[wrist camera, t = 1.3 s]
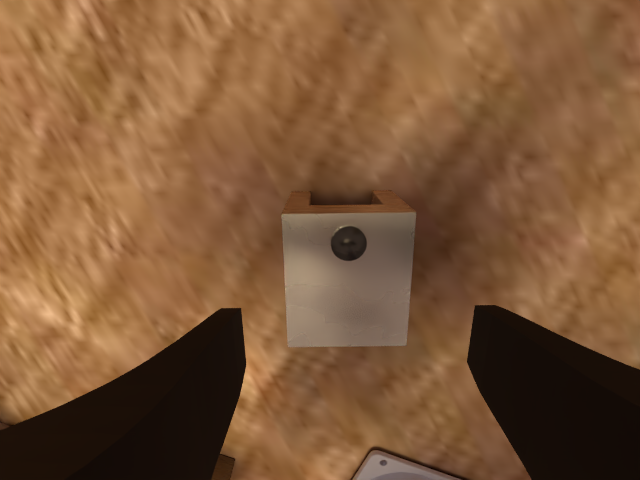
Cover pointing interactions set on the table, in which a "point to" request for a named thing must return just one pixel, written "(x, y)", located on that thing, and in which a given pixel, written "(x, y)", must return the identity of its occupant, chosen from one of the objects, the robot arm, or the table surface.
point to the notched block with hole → (347, 271)
